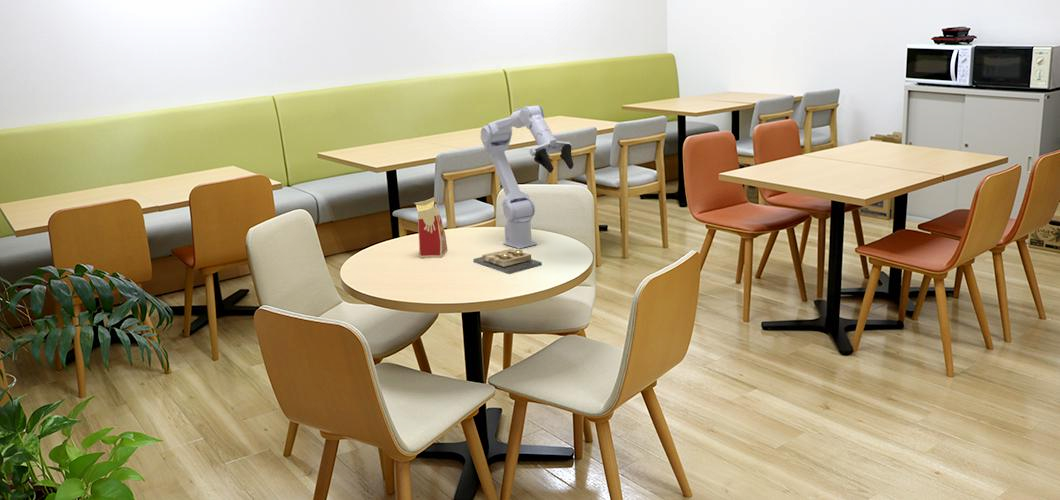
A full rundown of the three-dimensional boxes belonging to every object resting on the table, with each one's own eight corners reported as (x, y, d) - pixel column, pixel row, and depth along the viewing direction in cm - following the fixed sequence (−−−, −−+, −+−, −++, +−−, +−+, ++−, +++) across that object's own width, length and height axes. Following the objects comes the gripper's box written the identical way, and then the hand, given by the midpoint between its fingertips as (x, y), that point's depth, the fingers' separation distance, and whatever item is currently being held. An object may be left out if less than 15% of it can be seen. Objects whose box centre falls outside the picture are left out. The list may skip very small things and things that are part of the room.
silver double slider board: (473, 261, 297) (472, 249, 296) (505, 253, 305) (504, 241, 304) (508, 273, 282) (508, 261, 281) (541, 265, 289) (540, 252, 288)
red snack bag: (447, 250, 313) (442, 194, 308) (442, 257, 305) (437, 199, 299) (422, 251, 314) (416, 195, 309) (416, 258, 306) (410, 200, 300)
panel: (482, 259, 294) (482, 255, 294) (509, 252, 301) (509, 248, 300) (503, 266, 285) (503, 261, 285) (531, 259, 291) (531, 254, 291)
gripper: (528, 131, 283) (546, 164, 277) (566, 125, 290) (585, 157, 284) (521, 145, 288) (539, 178, 283) (559, 139, 295) (577, 171, 290)
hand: (561, 168), depth 284 cm, fingers open, 7 cm apart
